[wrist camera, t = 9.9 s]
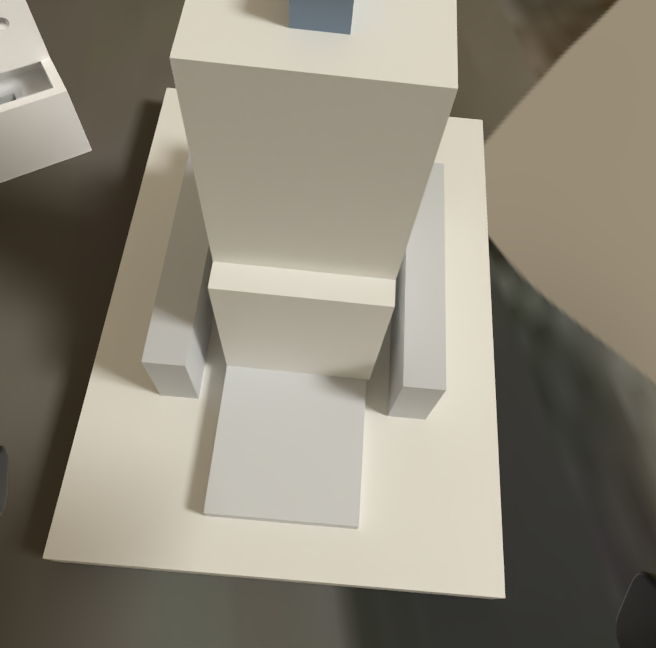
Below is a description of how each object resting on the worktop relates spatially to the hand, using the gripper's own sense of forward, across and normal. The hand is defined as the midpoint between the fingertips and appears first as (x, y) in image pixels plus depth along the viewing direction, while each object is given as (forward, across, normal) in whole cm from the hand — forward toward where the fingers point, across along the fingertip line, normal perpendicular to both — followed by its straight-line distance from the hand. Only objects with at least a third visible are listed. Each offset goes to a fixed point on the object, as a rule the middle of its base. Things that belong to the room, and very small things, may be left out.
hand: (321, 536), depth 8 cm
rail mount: (+14, +1, +1) cm, 14 cm away
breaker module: (+12, +1, 0) cm, 12 cm away
